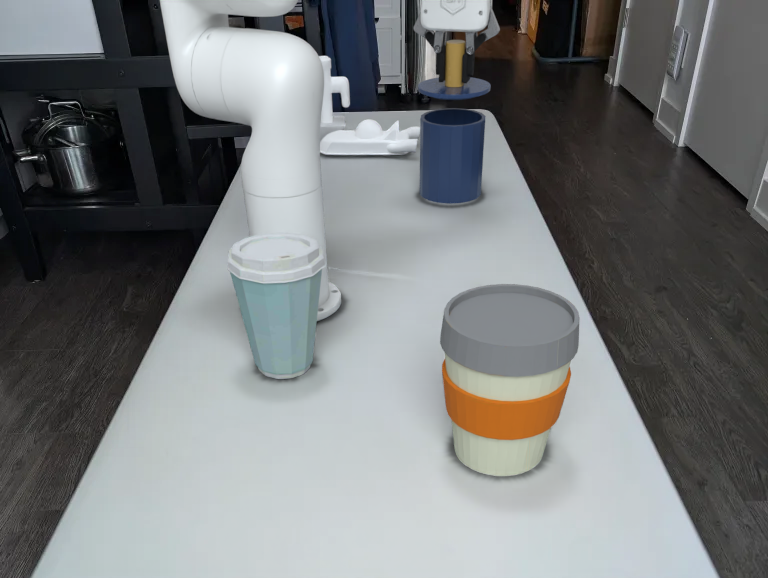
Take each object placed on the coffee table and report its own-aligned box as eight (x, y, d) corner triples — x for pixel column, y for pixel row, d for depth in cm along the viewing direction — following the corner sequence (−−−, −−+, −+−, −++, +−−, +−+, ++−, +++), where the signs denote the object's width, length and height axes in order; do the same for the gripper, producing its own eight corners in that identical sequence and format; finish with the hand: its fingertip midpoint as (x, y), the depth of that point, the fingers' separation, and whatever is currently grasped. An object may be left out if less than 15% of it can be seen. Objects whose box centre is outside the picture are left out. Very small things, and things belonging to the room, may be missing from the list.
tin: (474, 209, 131) (478, 128, 123) (412, 203, 134) (413, 123, 126) (486, 188, 139) (491, 110, 131) (427, 183, 141) (428, 106, 133)
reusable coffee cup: (457, 405, 87) (464, 275, 77) (572, 427, 83) (594, 293, 74) (419, 471, 78) (421, 334, 68) (546, 499, 75) (566, 358, 65)
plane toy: (321, 142, 160) (319, 111, 157) (421, 144, 158) (421, 112, 155) (312, 159, 153) (310, 126, 149) (416, 161, 151) (417, 128, 147)
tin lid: (482, 105, 121) (485, 51, 116) (409, 101, 123) (409, 48, 118) (496, 86, 129) (499, 35, 124) (427, 83, 131) (428, 32, 127)
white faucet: (352, 145, 159) (348, 60, 149) (304, 147, 158) (298, 62, 149) (350, 134, 164) (347, 52, 155) (305, 136, 164) (298, 54, 154)
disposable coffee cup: (232, 353, 97) (213, 231, 87) (317, 336, 99) (308, 216, 90) (254, 397, 89) (235, 269, 79) (345, 378, 92) (338, 252, 82)
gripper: (396, -61, 112) (397, 84, 124) (512, -60, 108) (502, 89, 120) (410, -67, 117) (410, 72, 129) (521, -66, 114) (510, 77, 126)
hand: (454, 79), depth 125 cm, fingers closed on tin lid, 3 cm apart
